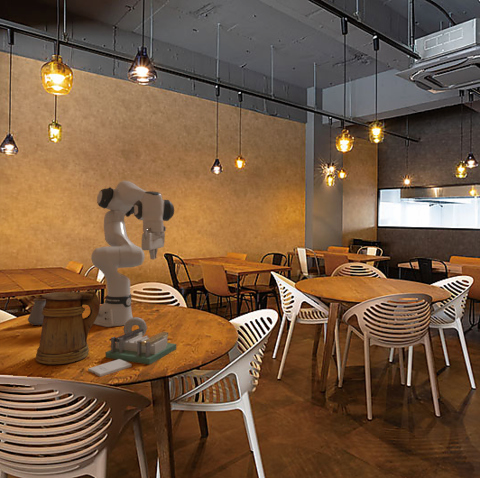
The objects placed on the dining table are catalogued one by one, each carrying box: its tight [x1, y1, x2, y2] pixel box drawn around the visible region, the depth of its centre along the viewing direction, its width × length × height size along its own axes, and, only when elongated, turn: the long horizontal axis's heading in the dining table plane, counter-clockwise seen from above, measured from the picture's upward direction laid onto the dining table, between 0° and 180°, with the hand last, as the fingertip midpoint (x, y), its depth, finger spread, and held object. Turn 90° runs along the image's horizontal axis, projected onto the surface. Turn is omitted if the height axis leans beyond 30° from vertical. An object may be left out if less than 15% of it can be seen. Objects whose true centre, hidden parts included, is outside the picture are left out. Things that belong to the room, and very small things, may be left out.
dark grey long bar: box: [114, 328, 144, 342], centre depth 164 cm, size 2×16×2 cm, turn 158°
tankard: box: [35, 289, 101, 365], centre depth 158 cm, size 18×24×25 cm
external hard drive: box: [87, 359, 133, 377], centre depth 146 cm, size 2×8×12 cm
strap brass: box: [140, 331, 169, 346], centre depth 159 cm, size 2×16×2 cm, turn 158°
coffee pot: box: [27, 291, 73, 326], centre depth 208 cm, size 21×12×15 cm, turn 126°
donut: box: [123, 316, 148, 337], centre depth 179 cm, size 10×3×10 cm, turn 115°
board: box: [105, 332, 177, 365], centre depth 162 cm, size 20×19×8 cm
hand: (153, 259), depth 182 cm, fingers closed
